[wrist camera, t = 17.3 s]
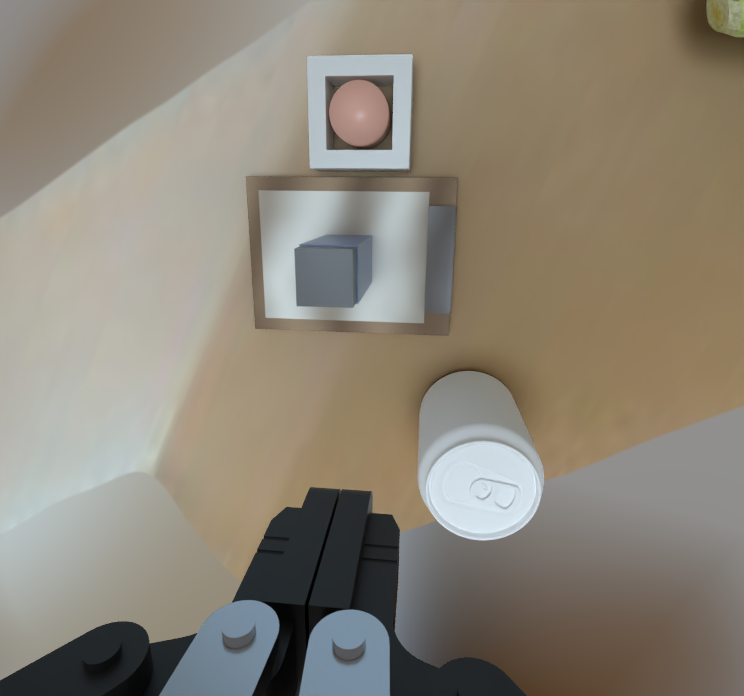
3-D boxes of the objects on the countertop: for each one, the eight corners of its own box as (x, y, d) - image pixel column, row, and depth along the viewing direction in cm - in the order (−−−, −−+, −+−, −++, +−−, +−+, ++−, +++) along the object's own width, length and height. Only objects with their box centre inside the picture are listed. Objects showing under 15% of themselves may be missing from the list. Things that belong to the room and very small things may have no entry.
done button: (391, 89, 35) (388, 79, 32) (390, 149, 36) (387, 144, 33) (336, 89, 35) (328, 79, 32) (337, 149, 36) (329, 144, 33)
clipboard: (457, 178, 36) (458, 177, 35) (448, 333, 40) (448, 338, 38) (249, 176, 38) (242, 176, 36) (258, 326, 41) (252, 330, 40)
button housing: (413, 66, 34) (412, 54, 32) (410, 171, 37) (409, 168, 34) (316, 67, 35) (307, 56, 32) (318, 170, 37) (309, 168, 34)
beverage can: (436, 355, 41) (441, 417, 29) (529, 384, 40) (570, 457, 29) (407, 438, 43) (401, 525, 32) (495, 465, 43) (520, 562, 32)
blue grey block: (372, 235, 37) (354, 247, 28) (372, 282, 38) (354, 309, 29) (326, 234, 38) (292, 246, 28) (327, 281, 39) (294, 307, 29)
